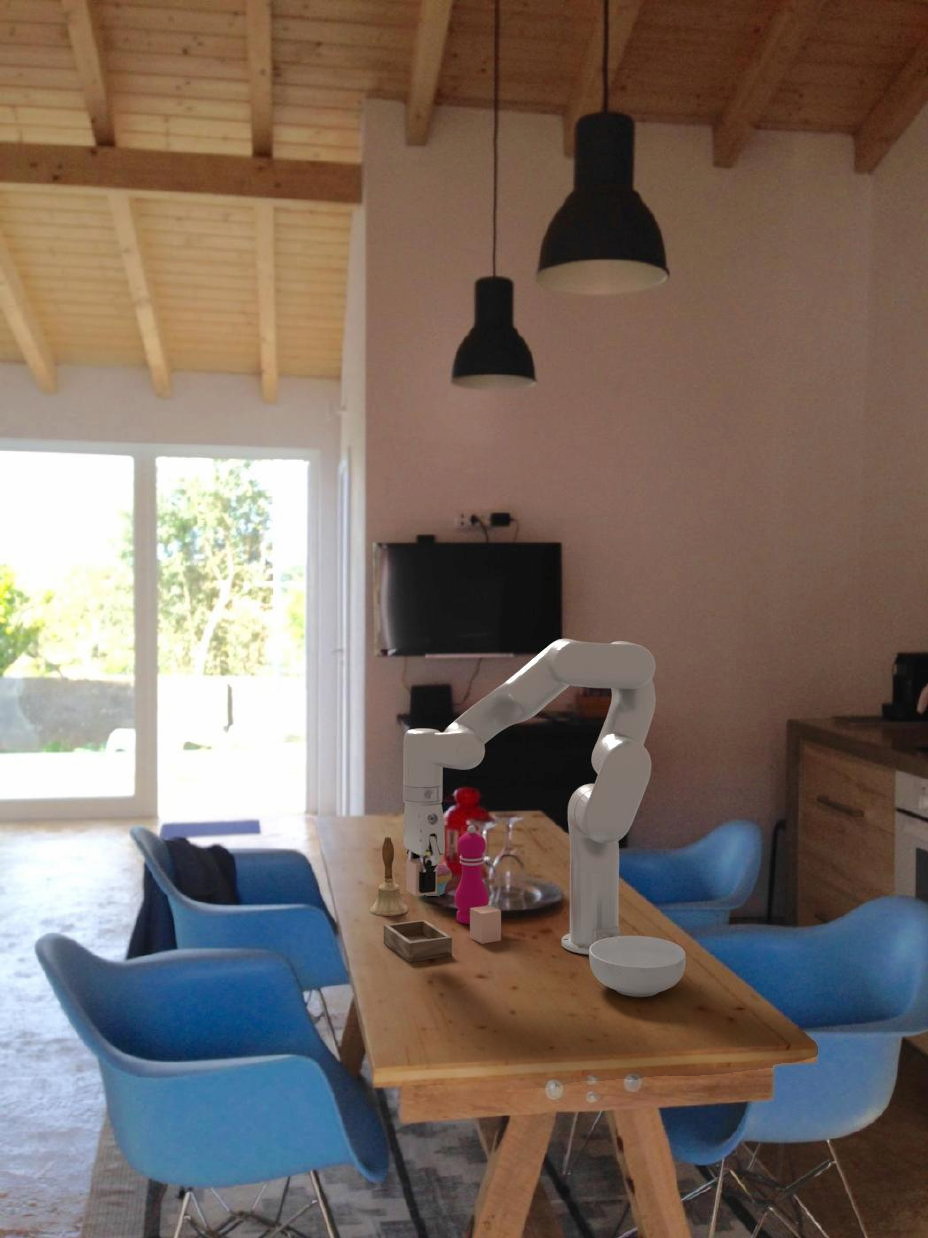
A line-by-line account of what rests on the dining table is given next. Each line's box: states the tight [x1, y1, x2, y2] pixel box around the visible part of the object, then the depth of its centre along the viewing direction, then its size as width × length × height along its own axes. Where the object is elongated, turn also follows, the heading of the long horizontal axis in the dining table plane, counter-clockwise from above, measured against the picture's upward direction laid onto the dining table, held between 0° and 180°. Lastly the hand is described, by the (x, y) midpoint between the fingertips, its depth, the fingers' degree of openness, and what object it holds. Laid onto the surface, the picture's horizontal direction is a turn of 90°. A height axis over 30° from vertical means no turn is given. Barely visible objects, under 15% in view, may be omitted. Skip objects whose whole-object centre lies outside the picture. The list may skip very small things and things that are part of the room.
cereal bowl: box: [588, 935, 687, 998], centre depth 210 cm, size 17×17×7 cm
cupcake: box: [425, 852, 453, 896], centre depth 272 cm, size 9×8×12 cm
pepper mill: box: [454, 825, 490, 925], centre depth 251 cm, size 7×7×20 cm
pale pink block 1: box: [405, 858, 437, 897], centre depth 229 cm, size 4×4×6 cm
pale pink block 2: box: [469, 904, 502, 945], centre depth 239 cm, size 4×4×6 cm
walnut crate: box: [383, 919, 453, 963], centre depth 232 cm, size 13×9×4 cm
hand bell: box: [369, 836, 409, 917], centre depth 258 cm, size 8×8×16 cm
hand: (421, 887), depth 229 cm, fingers closed on pale pink block 1, 4 cm apart
